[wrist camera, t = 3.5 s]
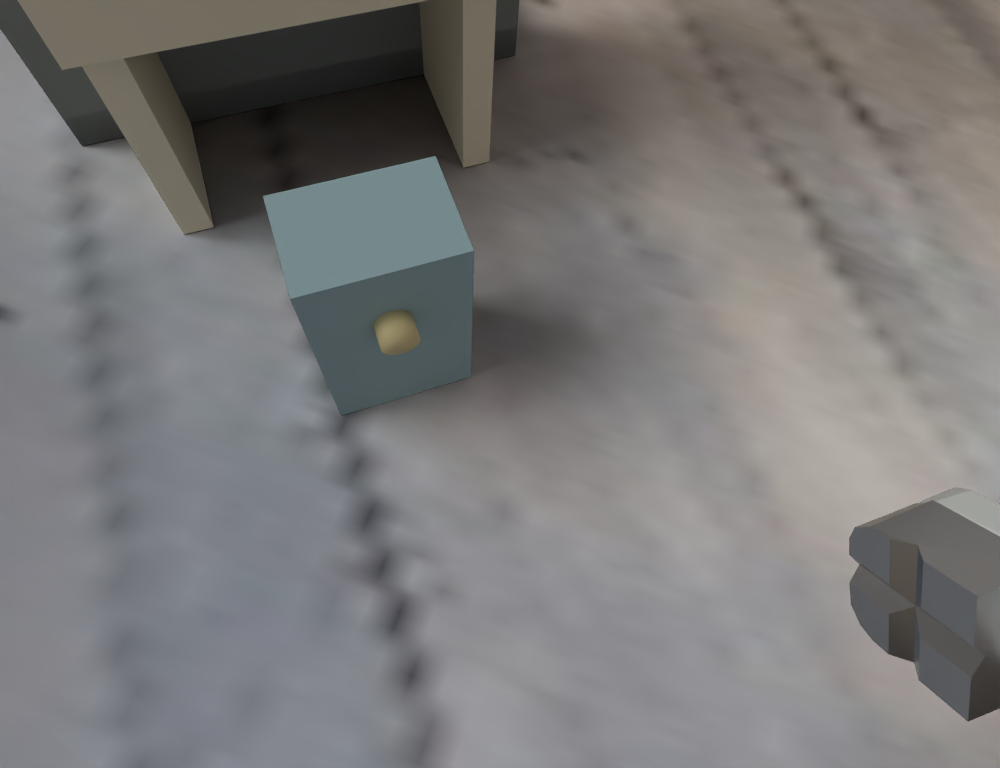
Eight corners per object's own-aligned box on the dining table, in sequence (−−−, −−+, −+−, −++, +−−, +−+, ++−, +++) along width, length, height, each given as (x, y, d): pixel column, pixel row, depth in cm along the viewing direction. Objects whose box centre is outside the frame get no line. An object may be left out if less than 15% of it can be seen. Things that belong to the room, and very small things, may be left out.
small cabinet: (346, 435, 24) (296, 324, 17) (318, 335, 26) (262, 196, 19) (477, 395, 25) (483, 274, 18) (443, 301, 27) (435, 155, 20)
